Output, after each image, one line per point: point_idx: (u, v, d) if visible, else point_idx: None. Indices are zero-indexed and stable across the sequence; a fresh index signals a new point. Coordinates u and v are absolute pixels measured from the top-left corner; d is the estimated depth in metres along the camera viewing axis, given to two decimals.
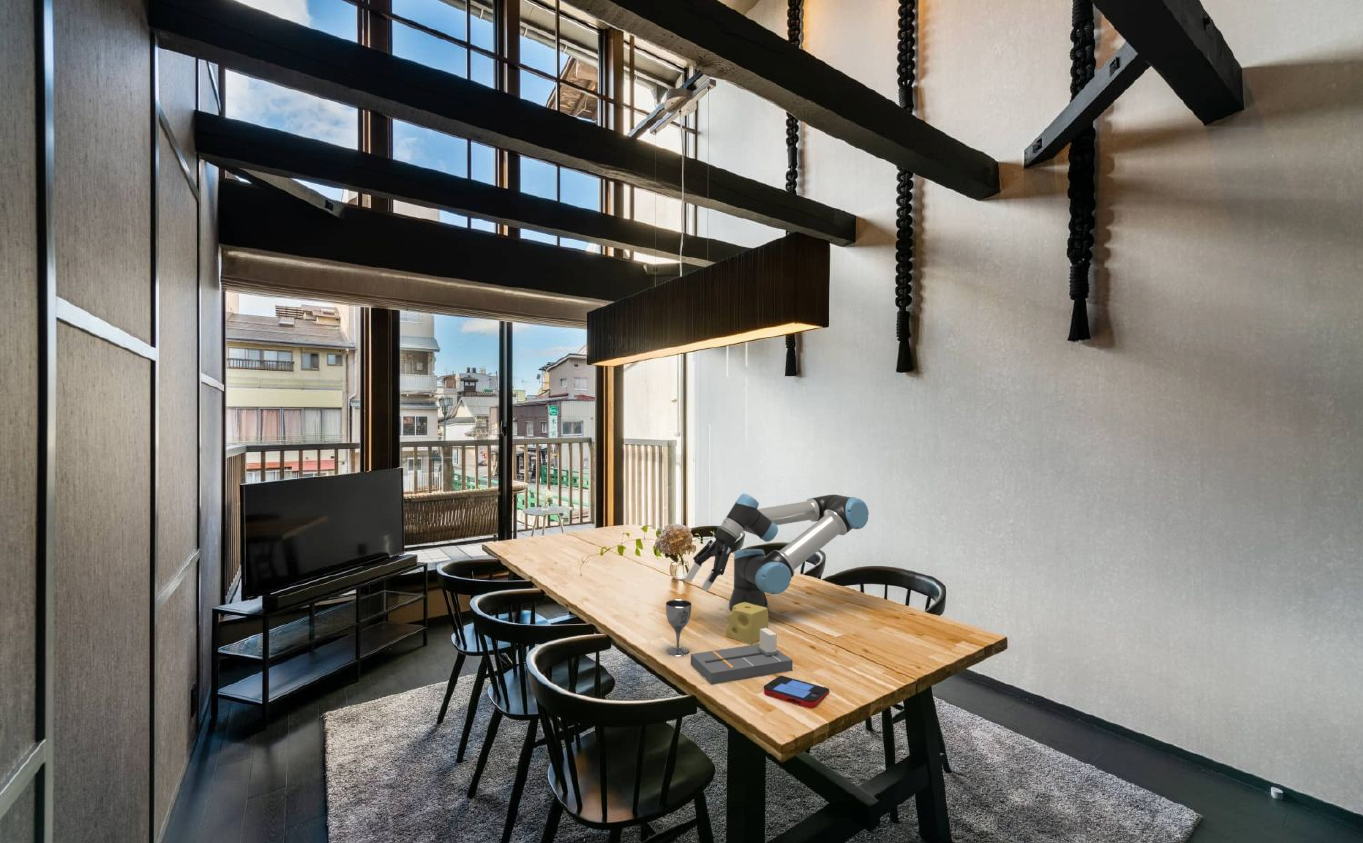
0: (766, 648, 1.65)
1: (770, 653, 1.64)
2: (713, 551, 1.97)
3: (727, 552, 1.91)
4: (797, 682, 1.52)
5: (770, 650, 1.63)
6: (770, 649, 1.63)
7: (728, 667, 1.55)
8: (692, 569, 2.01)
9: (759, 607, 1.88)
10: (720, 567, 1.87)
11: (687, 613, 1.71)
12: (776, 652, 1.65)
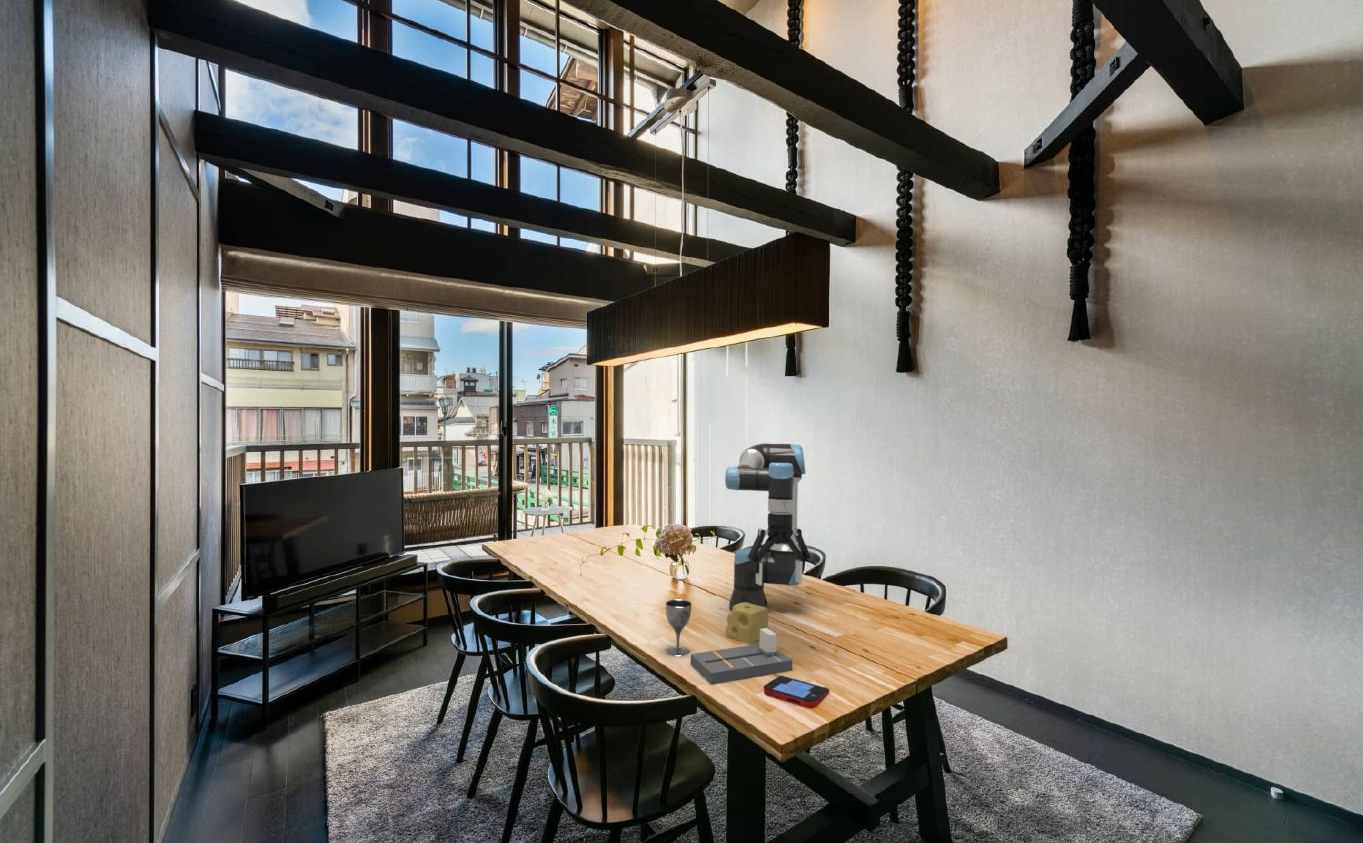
0: (766, 648, 1.65)
1: (770, 653, 1.64)
2: (781, 540, 1.70)
3: None
4: (797, 682, 1.52)
5: (770, 650, 1.63)
6: (770, 649, 1.63)
7: (728, 667, 1.55)
8: None
9: (759, 607, 1.88)
10: None
11: (687, 613, 1.71)
12: (776, 652, 1.65)
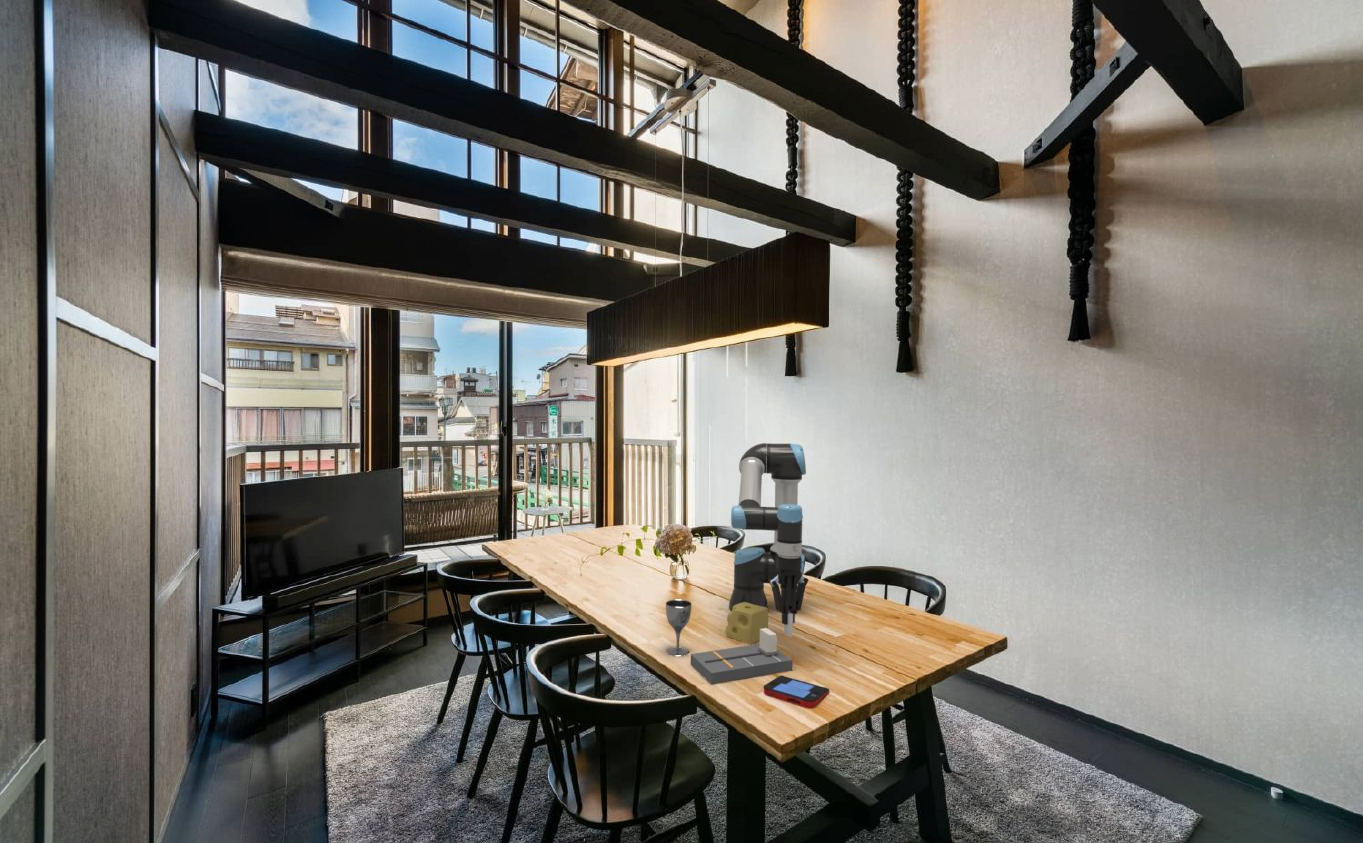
0: (766, 648, 1.65)
1: (770, 653, 1.64)
2: (791, 584, 1.68)
3: None
4: (797, 682, 1.52)
5: (770, 650, 1.63)
6: (770, 649, 1.63)
7: (728, 667, 1.55)
8: None
9: (759, 607, 1.88)
10: None
11: (687, 613, 1.71)
12: (776, 652, 1.65)
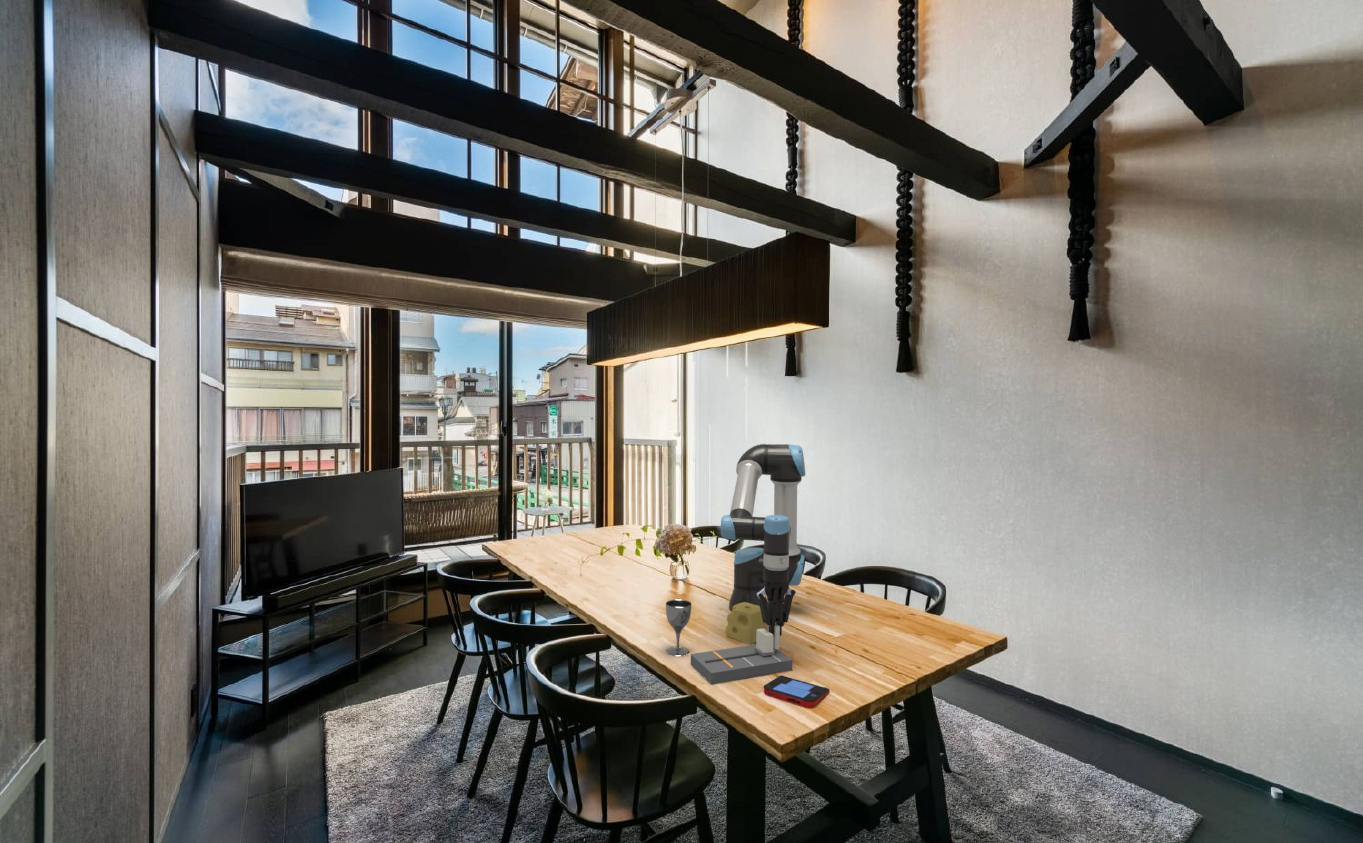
0: (762, 648, 1.65)
1: (767, 654, 1.63)
2: (777, 596, 1.67)
3: None
4: (797, 682, 1.52)
5: (767, 651, 1.63)
6: (767, 650, 1.63)
7: (728, 667, 1.55)
8: None
9: (759, 607, 1.88)
10: None
11: (687, 613, 1.71)
12: (773, 653, 1.64)
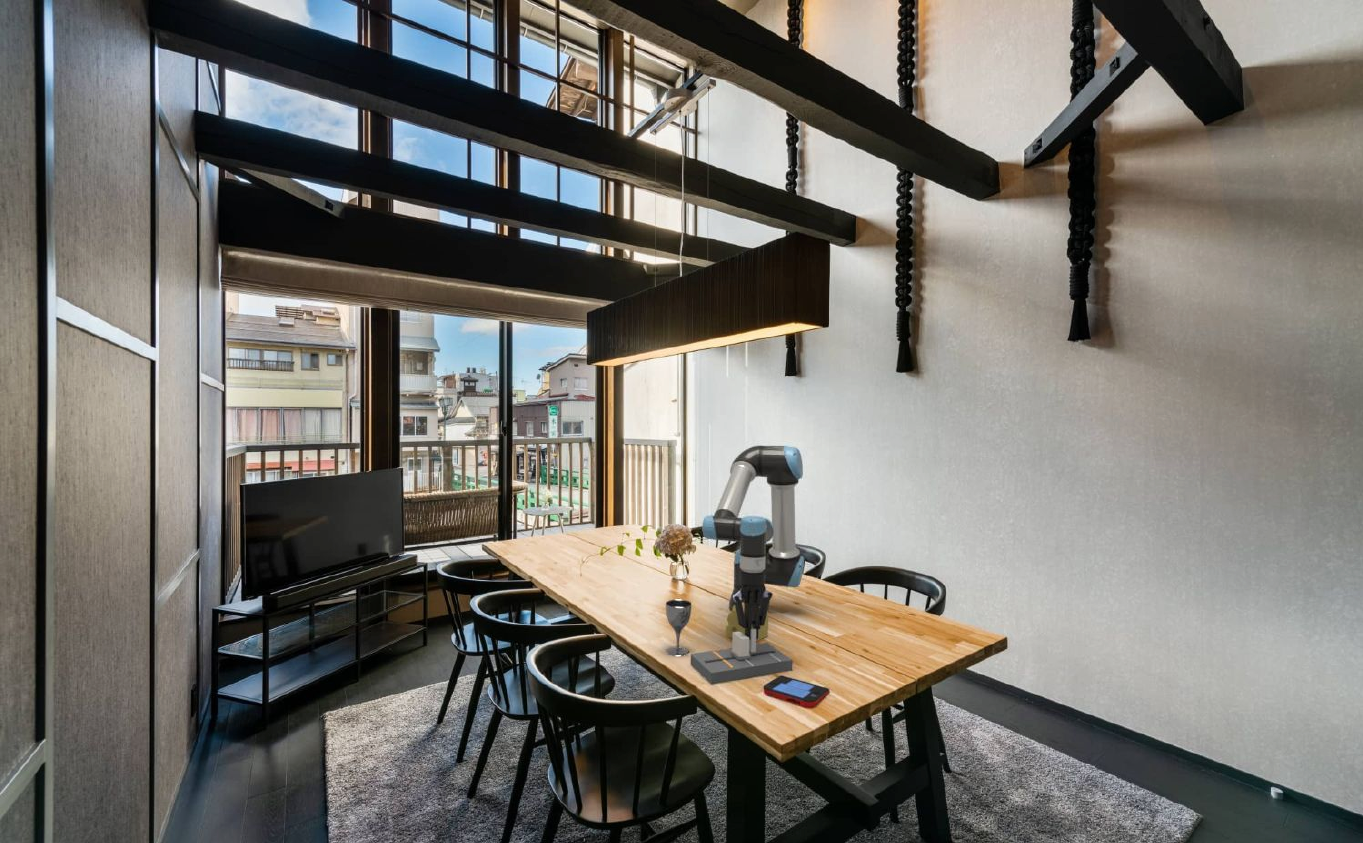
0: (738, 652, 1.61)
1: (742, 657, 1.60)
2: (754, 599, 1.63)
3: None
4: (797, 682, 1.52)
5: (742, 654, 1.60)
6: (742, 653, 1.60)
7: (728, 667, 1.55)
8: None
9: None
10: None
11: (687, 613, 1.71)
12: (748, 656, 1.61)
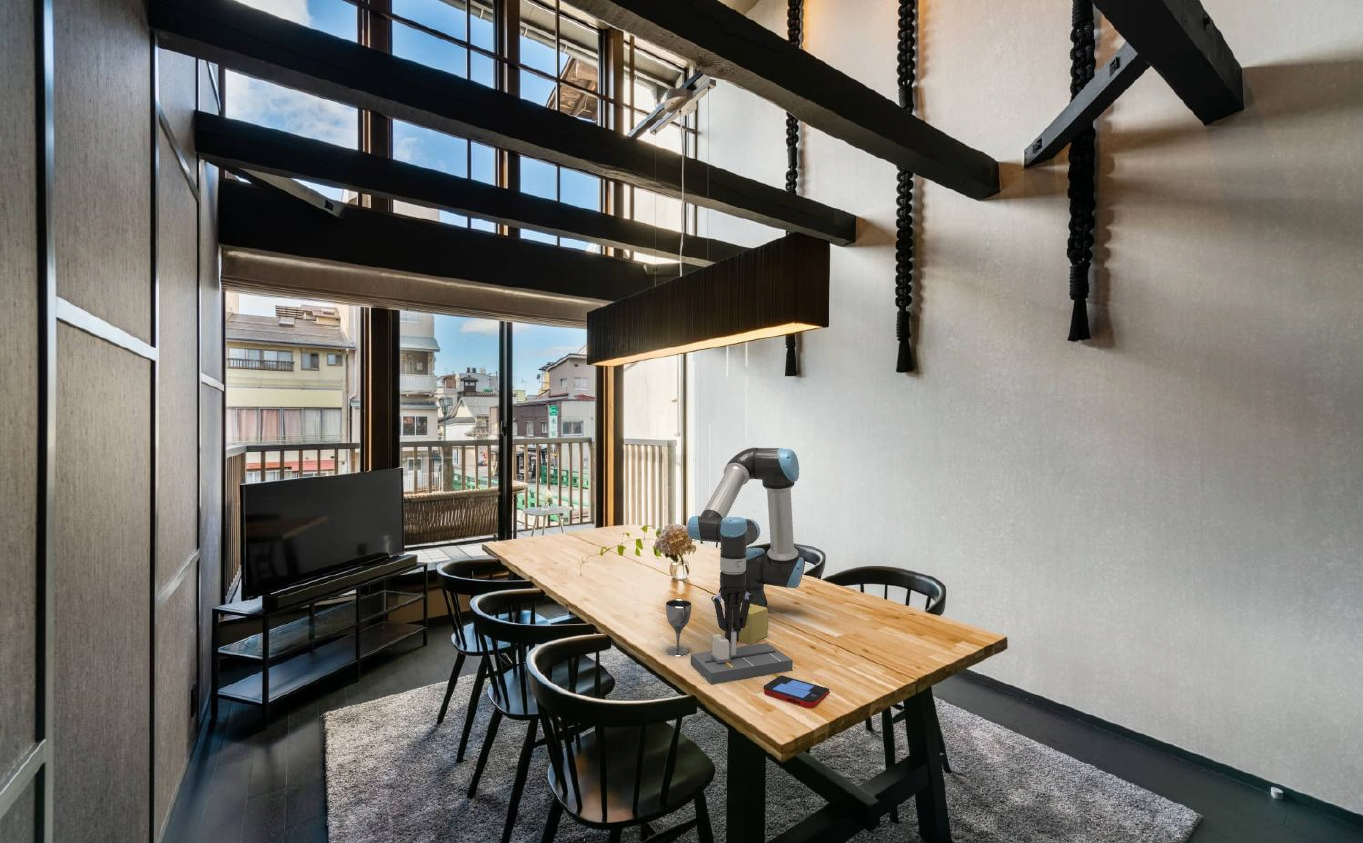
0: (718, 655, 1.59)
1: (722, 660, 1.58)
2: (734, 601, 1.61)
3: None
4: (797, 682, 1.52)
5: (722, 657, 1.57)
6: (722, 656, 1.57)
7: (728, 667, 1.55)
8: None
9: (759, 607, 1.88)
10: None
11: (687, 613, 1.71)
12: (728, 659, 1.58)
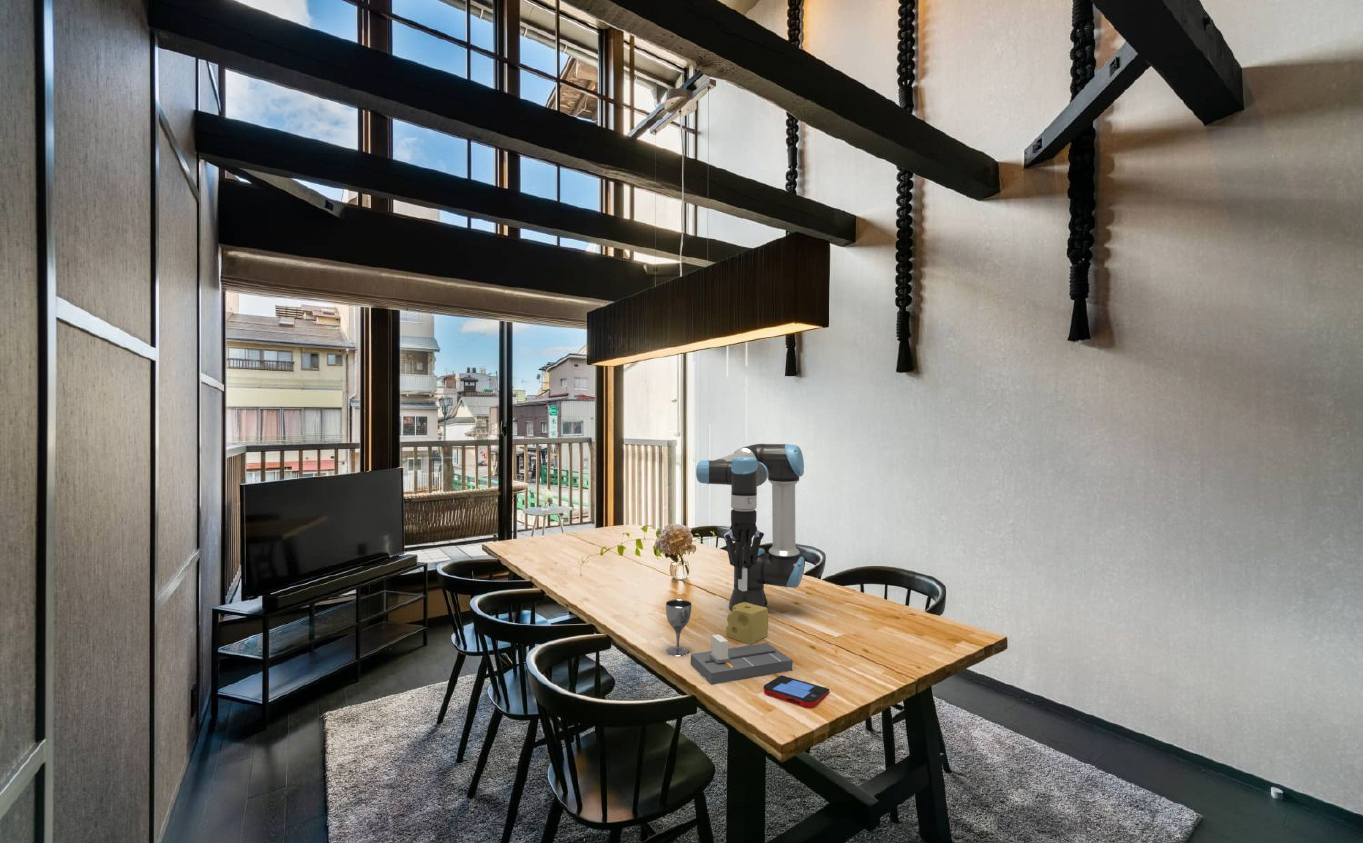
0: (717, 655, 1.59)
1: (721, 661, 1.58)
2: (745, 538, 1.63)
3: None
4: (797, 682, 1.52)
5: (721, 657, 1.57)
6: (721, 656, 1.57)
7: (728, 667, 1.55)
8: None
9: (759, 607, 1.88)
10: None
11: (687, 613, 1.71)
12: (727, 660, 1.58)
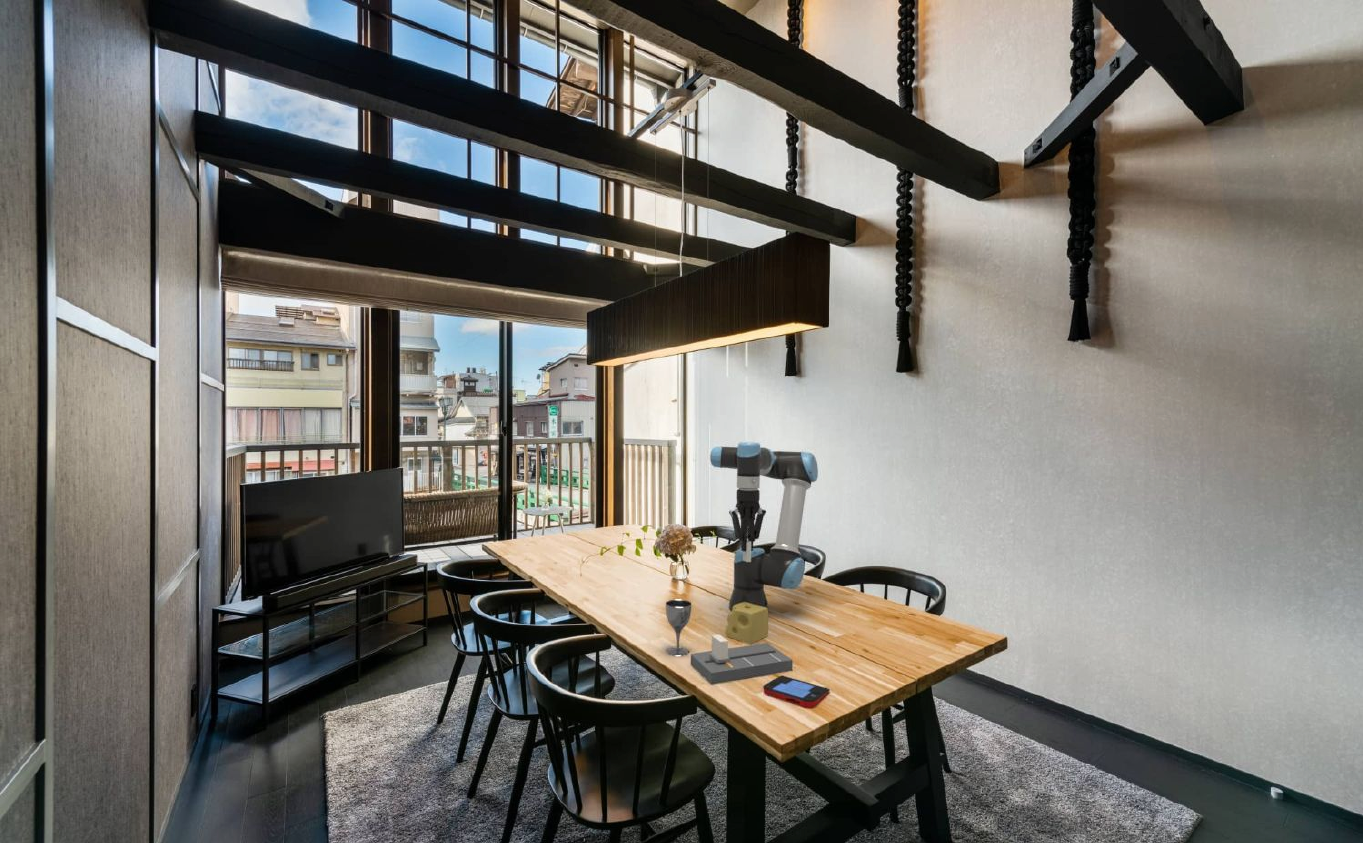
0: (717, 655, 1.59)
1: (721, 661, 1.58)
2: (749, 514, 1.83)
3: None
4: (797, 682, 1.52)
5: (721, 657, 1.57)
6: (721, 656, 1.57)
7: (728, 667, 1.55)
8: None
9: (759, 607, 1.88)
10: None
11: (687, 613, 1.71)
12: (727, 660, 1.58)
